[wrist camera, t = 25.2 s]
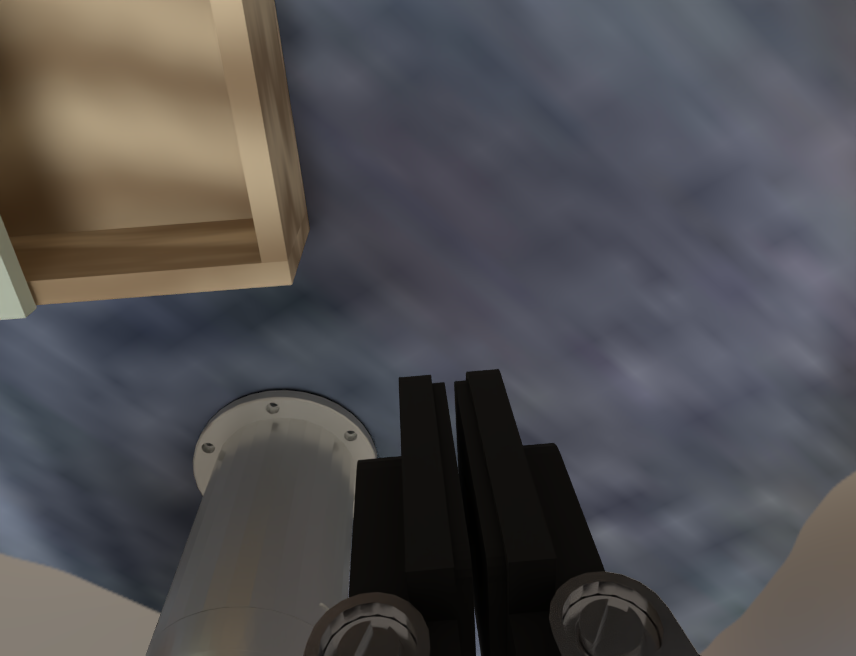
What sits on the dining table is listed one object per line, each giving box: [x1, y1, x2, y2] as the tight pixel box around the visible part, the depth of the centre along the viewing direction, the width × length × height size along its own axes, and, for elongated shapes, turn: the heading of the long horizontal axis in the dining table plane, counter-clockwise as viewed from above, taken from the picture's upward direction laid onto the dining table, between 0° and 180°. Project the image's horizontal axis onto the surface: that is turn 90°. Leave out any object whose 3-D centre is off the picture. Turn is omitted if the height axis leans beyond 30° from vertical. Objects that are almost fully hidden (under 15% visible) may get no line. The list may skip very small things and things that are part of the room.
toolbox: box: [0, 0, 310, 305], centre depth 29 cm, size 18×18×8 cm
